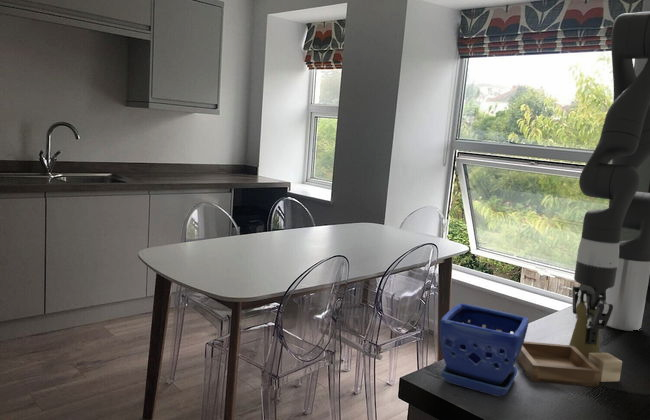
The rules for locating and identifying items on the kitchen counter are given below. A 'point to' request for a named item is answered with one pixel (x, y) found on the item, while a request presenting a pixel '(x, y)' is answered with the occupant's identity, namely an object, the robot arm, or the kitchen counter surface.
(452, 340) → the flower pot
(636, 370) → the kitchen counter surface
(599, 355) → the beech block
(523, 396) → the kitchen counter surface
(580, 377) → the tray
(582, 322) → the cork
